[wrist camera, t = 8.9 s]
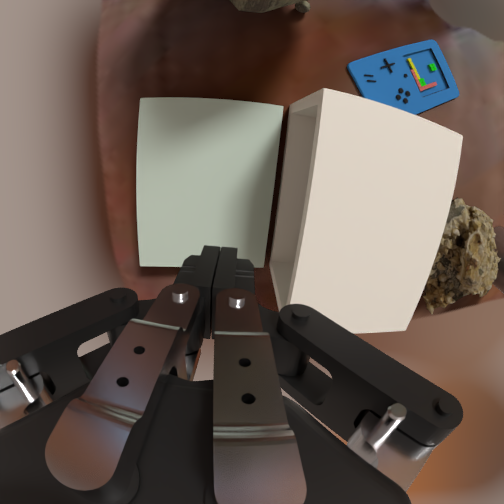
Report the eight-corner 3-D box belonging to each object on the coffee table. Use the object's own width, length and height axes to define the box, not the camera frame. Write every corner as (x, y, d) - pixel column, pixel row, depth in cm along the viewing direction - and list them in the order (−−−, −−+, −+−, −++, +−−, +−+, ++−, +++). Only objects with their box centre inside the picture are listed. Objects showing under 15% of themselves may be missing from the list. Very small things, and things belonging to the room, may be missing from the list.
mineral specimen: (390, 224, 31) (436, 259, 22) (458, 177, 28) (509, 197, 19) (416, 301, 36) (449, 342, 27) (473, 257, 34) (511, 287, 25)
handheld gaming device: (347, 63, 22) (436, 38, 20) (344, 65, 23) (431, 39, 21) (381, 131, 25) (462, 95, 23) (377, 130, 26) (456, 96, 24)
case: (391, 128, 26) (462, 135, 15) (361, 270, 33) (405, 330, 22) (289, 105, 25) (323, 87, 14) (269, 265, 32) (283, 333, 21)
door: (283, 106, 24) (140, 98, 21) (263, 267, 31) (140, 266, 28) (277, 107, 26) (145, 100, 23) (259, 258, 33) (143, 256, 30)
